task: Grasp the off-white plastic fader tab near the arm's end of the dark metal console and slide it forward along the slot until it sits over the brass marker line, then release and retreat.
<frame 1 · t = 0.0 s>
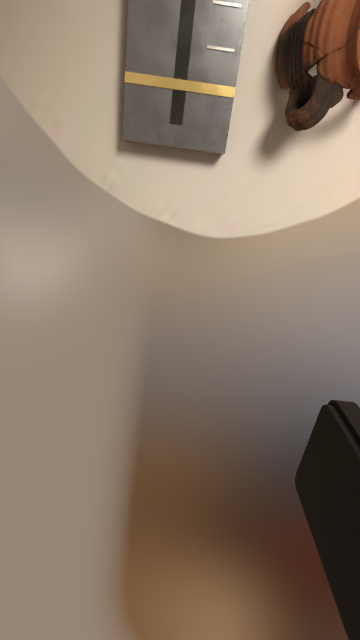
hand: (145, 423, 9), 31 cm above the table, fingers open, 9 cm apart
console: (188, 8, 29), on the table
pottery mug: (319, 71, 31), on the table
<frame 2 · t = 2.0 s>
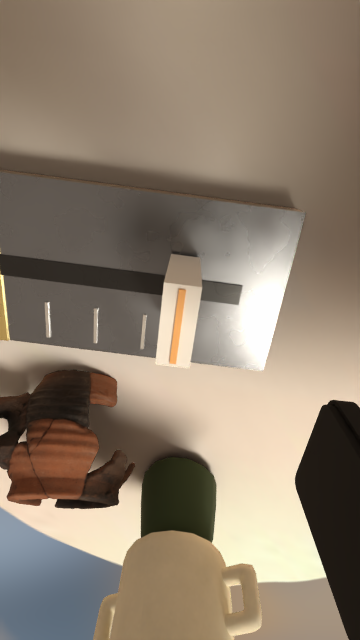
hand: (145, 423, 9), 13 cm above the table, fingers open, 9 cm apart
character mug: (179, 475, 29), on the table
fader tab: (179, 306, 17), point 5 cm above the table, slide at -5.0 cm
console: (104, 267, 21), on the table
pottery mug: (71, 411, 27), on the table
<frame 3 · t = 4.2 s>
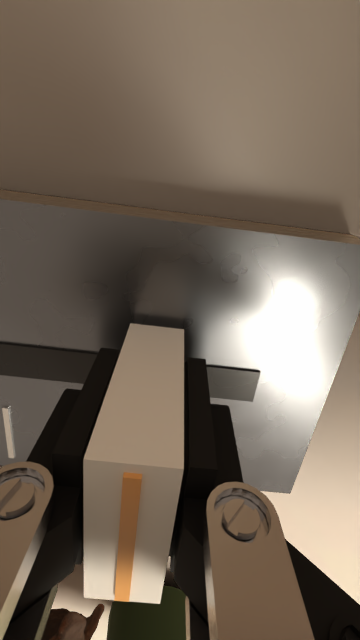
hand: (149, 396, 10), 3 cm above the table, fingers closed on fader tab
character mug: (162, 597, 21), on the table
fader tab: (142, 441, 8), point 5 cm above the table, slide at -5.0 cm, touching gripper
console: (26, 330, 13), on the table
pottery mug: (9, 516, 18), on the table
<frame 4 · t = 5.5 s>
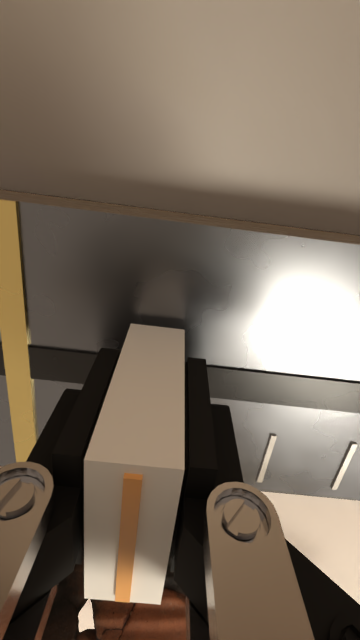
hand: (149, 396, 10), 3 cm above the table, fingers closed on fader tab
fader tab: (142, 441, 8), point 5 cm above the table, slide at 1.6 cm, touching gripper
console: (197, 349, 13), on the table
pottery mug: (137, 524, 18), on the table
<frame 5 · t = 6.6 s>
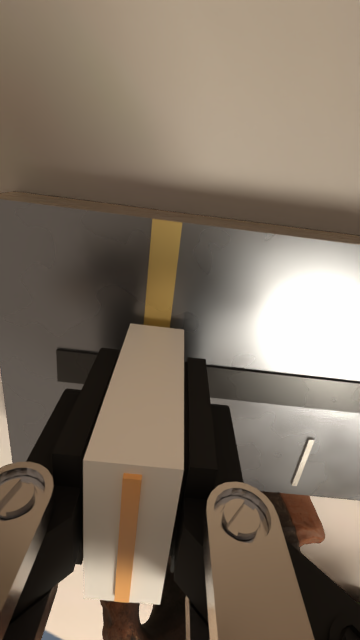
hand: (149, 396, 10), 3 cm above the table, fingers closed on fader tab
fader tab: (142, 442, 8), point 5 cm above the table, slide at 6.0 cm, touching gripper
console: (307, 362, 13), on the table
pottery mug: (223, 528, 18), on the table
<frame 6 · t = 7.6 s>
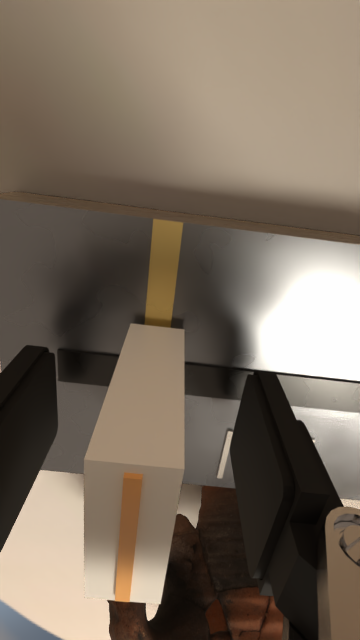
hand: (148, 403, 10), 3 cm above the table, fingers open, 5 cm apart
fader tab: (142, 441, 8), point 5 cm above the table, slide at 6.0 cm
console: (308, 362, 13), on the table
pottery mug: (228, 525, 18), on the table
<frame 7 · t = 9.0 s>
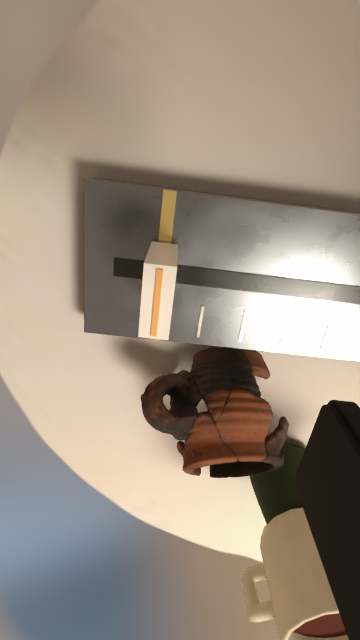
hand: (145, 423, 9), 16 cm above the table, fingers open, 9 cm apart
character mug: (279, 461, 32), on the table
fader tab: (159, 287, 19), point 5 cm above the table, slide at 6.0 cm
console: (246, 273, 24), on the table
pottery mug: (211, 388, 28), on the table
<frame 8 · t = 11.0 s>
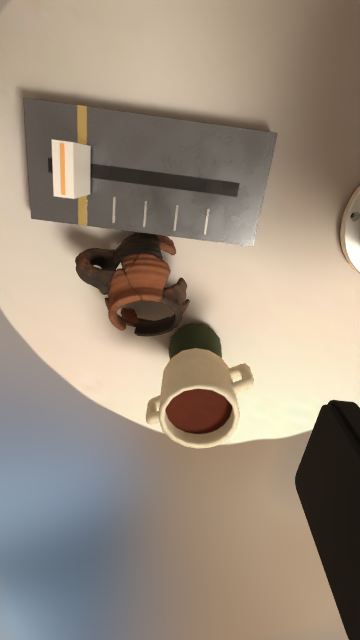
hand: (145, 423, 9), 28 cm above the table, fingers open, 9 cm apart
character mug: (194, 344, 40), on the table
fader tab: (72, 169, 28), point 5 cm above the table, slide at 6.0 cm
console: (149, 177, 32), on the table
pottery mug: (139, 272, 37), on the table
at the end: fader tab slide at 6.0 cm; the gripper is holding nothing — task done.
